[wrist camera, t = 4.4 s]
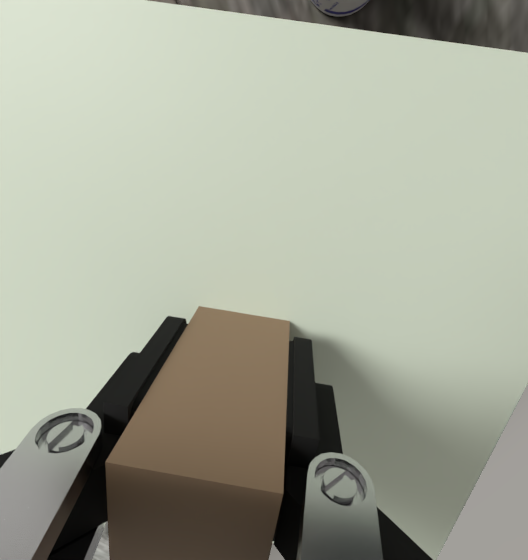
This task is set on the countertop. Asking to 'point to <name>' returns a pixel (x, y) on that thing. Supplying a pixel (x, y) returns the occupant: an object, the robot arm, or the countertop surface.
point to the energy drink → (339, 6)
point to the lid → (261, 255)
